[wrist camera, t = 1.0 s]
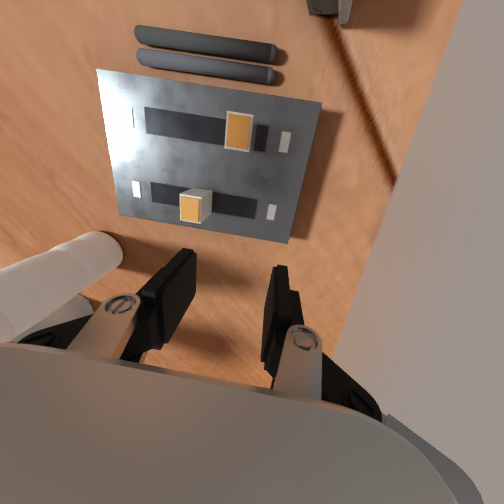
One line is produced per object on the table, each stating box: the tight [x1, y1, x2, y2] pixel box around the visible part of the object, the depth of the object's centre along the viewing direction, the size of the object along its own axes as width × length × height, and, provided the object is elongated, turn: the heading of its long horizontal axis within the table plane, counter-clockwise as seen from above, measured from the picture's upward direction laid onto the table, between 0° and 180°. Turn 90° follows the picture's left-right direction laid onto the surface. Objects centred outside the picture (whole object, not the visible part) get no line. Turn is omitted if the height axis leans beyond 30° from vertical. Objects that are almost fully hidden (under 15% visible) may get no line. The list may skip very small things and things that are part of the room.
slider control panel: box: [96, 69, 322, 244], centre depth 24 cm, size 16×24×8 cm, turn 82°
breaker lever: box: [180, 188, 213, 224], centre depth 24 cm, size 3×2×5 cm
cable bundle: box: [134, 25, 278, 84], centre depth 22 cm, size 3×15×1 cm, turn 82°
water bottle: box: [0, 231, 123, 343], centre depth 24 cm, size 7×7×25 cm
